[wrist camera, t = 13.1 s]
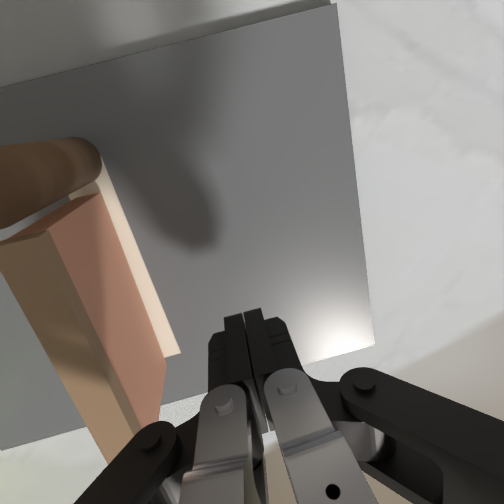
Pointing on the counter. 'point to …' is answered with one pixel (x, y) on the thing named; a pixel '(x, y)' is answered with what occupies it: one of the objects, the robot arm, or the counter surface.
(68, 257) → the hinged fence section
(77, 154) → the fixed fence section
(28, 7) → the counter surface
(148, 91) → the card
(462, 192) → the counter surface
